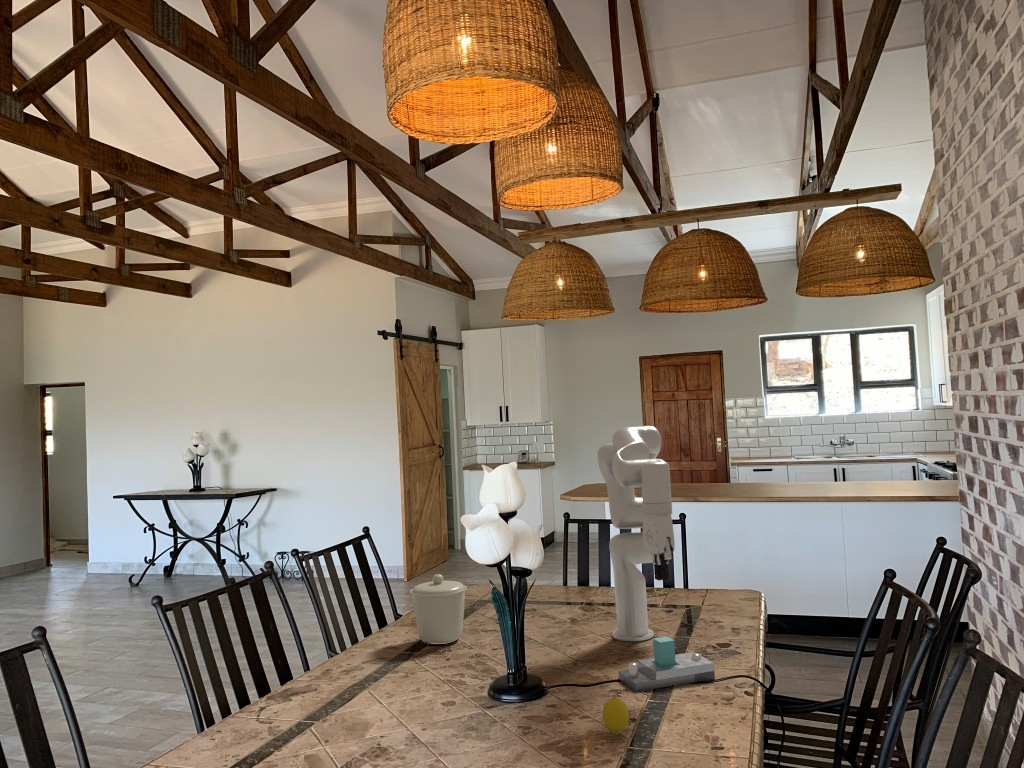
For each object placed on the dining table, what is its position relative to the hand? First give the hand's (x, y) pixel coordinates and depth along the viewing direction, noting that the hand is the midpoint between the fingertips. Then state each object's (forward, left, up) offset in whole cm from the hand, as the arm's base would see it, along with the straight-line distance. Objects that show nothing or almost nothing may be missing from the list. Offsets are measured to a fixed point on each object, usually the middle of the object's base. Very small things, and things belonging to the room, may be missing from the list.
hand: (661, 579), depth 207 cm
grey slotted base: (+1, -1, -25) cm, 25 cm away
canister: (-62, -48, -25) cm, 82 cm away
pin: (+1, -1, -25) cm, 25 cm away
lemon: (+29, -27, -25) cm, 47 cm away
